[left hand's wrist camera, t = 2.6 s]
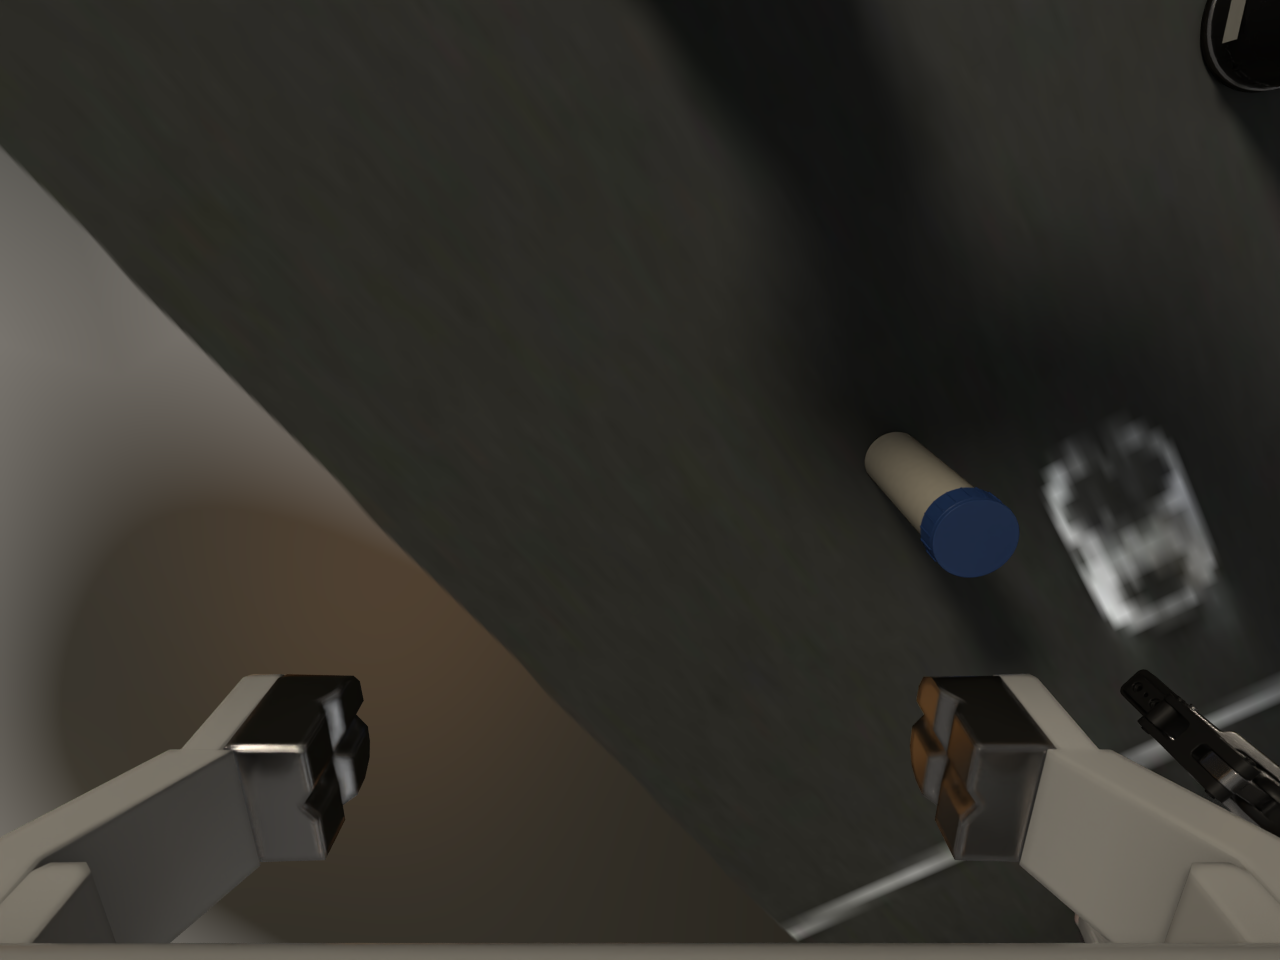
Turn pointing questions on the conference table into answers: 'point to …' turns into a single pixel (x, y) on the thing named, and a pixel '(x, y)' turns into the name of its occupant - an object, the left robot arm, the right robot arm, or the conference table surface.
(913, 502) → the jar
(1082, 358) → the conference table surface
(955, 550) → the lid
